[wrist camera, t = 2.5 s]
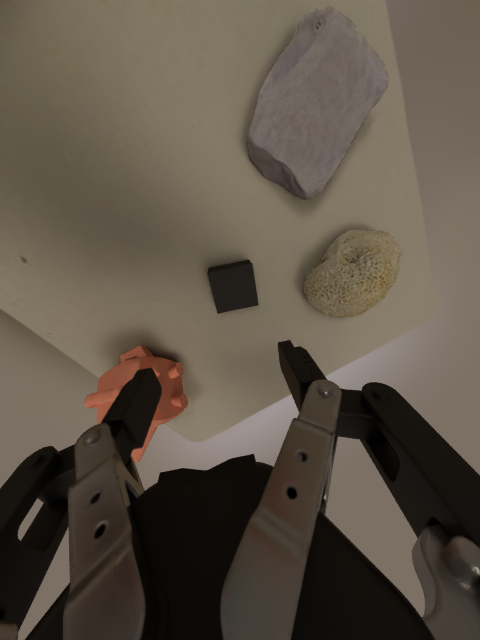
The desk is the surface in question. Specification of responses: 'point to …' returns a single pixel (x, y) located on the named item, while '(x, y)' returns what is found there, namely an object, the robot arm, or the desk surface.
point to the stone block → (314, 102)
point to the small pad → (233, 286)
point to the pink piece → (125, 371)
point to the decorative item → (353, 273)
